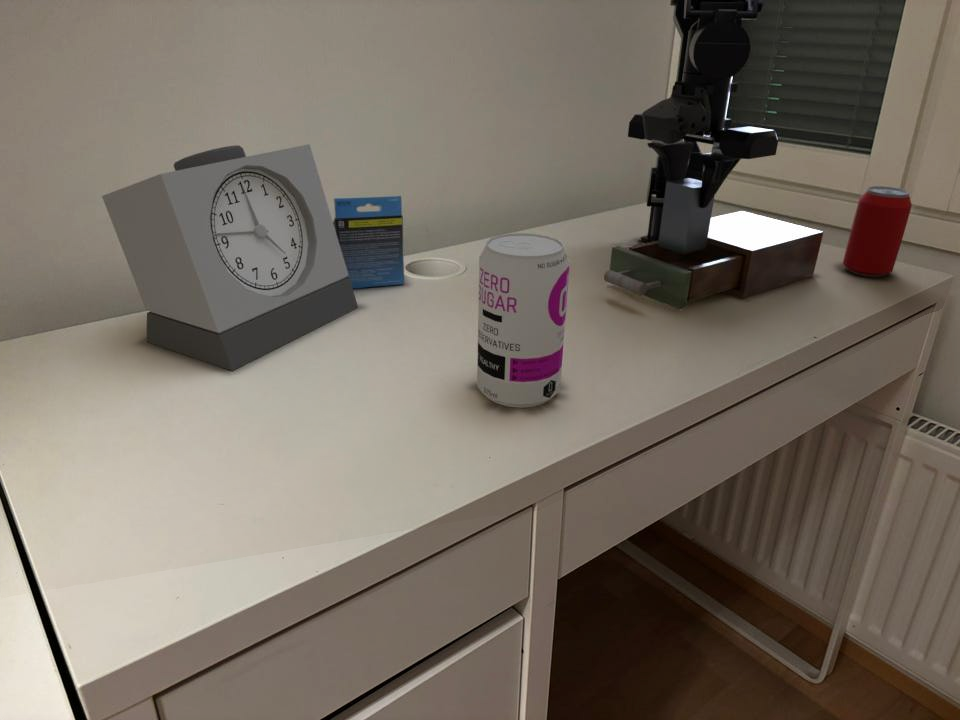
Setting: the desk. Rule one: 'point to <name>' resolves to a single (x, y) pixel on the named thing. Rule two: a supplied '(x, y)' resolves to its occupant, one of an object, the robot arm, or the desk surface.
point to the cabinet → (766, 250)
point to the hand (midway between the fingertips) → (688, 203)
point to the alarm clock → (233, 253)
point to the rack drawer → (674, 272)
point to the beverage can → (877, 231)
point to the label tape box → (371, 240)
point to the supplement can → (521, 318)
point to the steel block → (684, 217)
